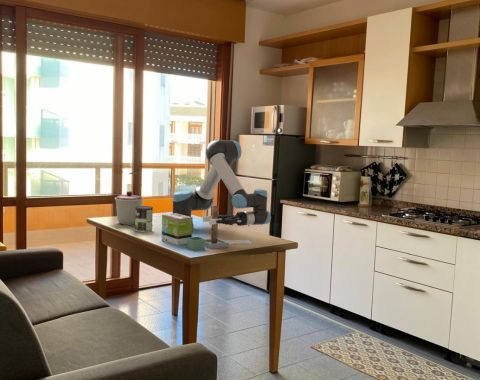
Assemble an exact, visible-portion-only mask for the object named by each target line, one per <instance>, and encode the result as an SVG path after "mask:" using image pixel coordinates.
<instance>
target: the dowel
mask: <svg viewBox="0 0 480 380" xmlns="http://www.w3.org/2000/svg"><path fill="white" fill-rule="evenodd" d="M218 215H219V205H217V204H216V205H215V204H213V205H212V207H211V216H212V219H218ZM218 225H219V224H211V230H210V231H211V232H210V239H211V244H214V243H217V238H218V230H219V229H218Z"/></svg>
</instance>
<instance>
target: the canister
mask: <svg viewBox="0 0 480 380" xmlns="http://www.w3.org/2000/svg"><path fill="white" fill-rule="evenodd" d="M114 200H115V205H116V206H115V208H116V218H117V221H118V223H119V224H121V225H125V226H126V225H127V226H133V225H135V216H136V208H135V207H137V206H143V201H144V200H145V199H144V197H142V196H140V195H136V194H133V192H132V191H131V190H128V191H126V194H121V195H117V196H116V197H114Z"/></svg>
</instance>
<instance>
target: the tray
mask: <svg viewBox="0 0 480 380" xmlns="http://www.w3.org/2000/svg"><path fill="white" fill-rule="evenodd" d="M204 239H205V248H207V249H220V248H229V243H230V242H228V241H226V240H223V239H221V238H219V237H217V243H214V244H211V238H204Z"/></svg>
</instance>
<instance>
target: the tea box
mask: <svg viewBox="0 0 480 380" xmlns="http://www.w3.org/2000/svg"><path fill="white" fill-rule="evenodd" d="M193 219H194V218H193V217H192V216H191V217H189V216H185V215H181V214H177V213H174V214H173V213H166V214H162V215H161V241H162V242H167V243H169V244H173V245H175V246H180V245H185V244H186V245H187V238H189V237H193V229H192V224H194V220H193Z"/></svg>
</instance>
